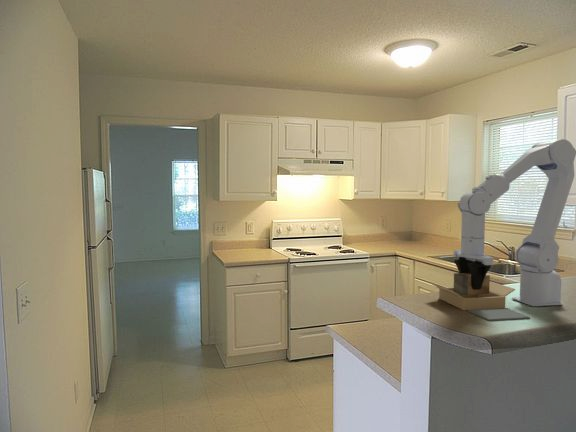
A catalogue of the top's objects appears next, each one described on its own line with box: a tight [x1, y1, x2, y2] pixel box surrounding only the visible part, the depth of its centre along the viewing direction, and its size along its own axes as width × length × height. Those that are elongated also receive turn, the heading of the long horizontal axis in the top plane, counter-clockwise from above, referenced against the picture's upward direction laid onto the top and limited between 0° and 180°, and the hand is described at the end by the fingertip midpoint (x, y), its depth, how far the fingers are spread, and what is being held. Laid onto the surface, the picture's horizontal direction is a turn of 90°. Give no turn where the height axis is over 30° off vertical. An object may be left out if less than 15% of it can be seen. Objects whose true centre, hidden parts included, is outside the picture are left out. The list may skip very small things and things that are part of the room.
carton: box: [430, 280, 516, 311], centre depth 112 cm, size 18×12×5 cm, turn 100°
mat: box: [467, 307, 531, 322], centre depth 101 cm, size 11×8×1 cm
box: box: [453, 272, 491, 295], centre depth 112 cm, size 8×4×5 cm, turn 100°
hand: (471, 287), depth 112 cm, fingers closed on box, 4 cm apart
